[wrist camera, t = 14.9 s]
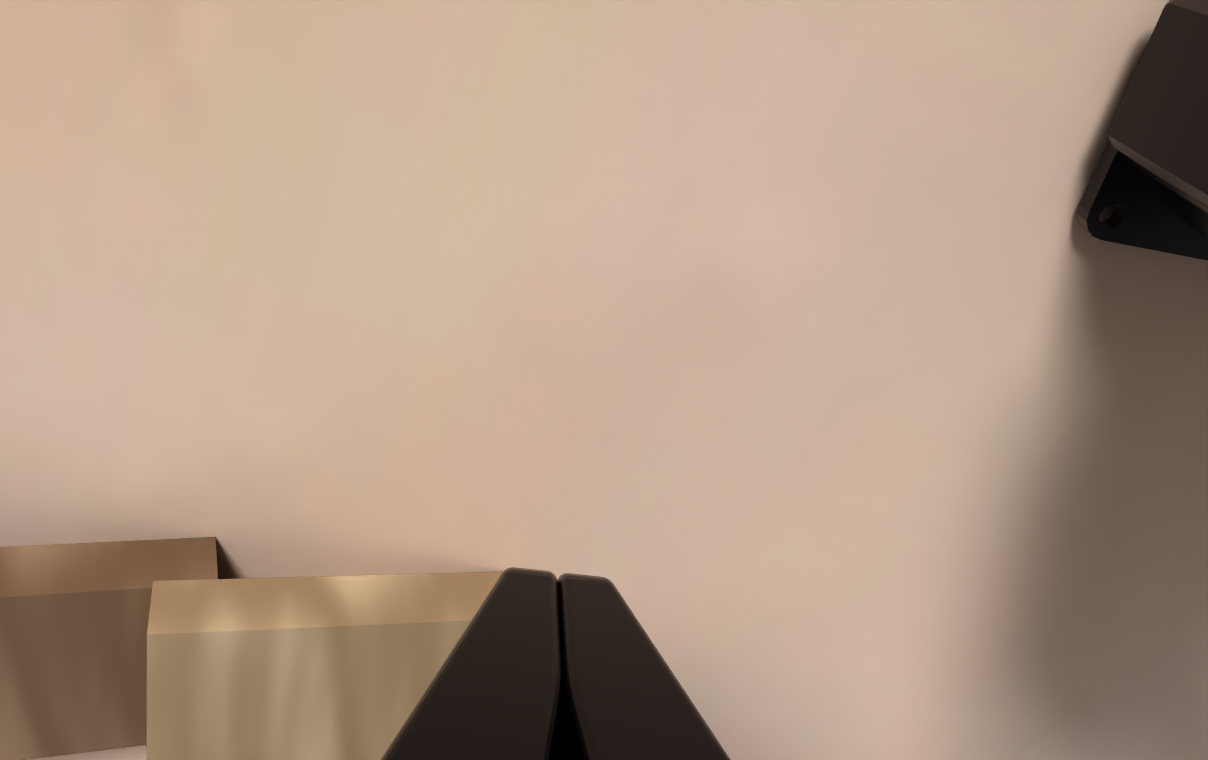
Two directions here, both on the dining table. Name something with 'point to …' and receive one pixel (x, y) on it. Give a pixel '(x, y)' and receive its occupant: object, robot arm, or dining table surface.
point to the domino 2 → (297, 662)
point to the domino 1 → (82, 640)
